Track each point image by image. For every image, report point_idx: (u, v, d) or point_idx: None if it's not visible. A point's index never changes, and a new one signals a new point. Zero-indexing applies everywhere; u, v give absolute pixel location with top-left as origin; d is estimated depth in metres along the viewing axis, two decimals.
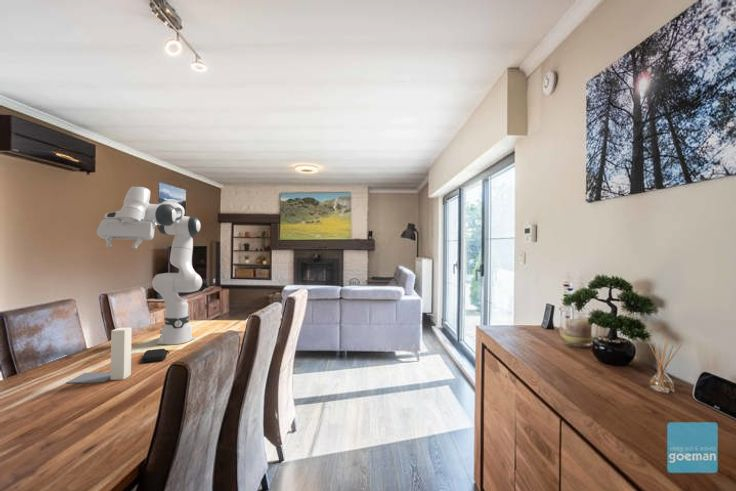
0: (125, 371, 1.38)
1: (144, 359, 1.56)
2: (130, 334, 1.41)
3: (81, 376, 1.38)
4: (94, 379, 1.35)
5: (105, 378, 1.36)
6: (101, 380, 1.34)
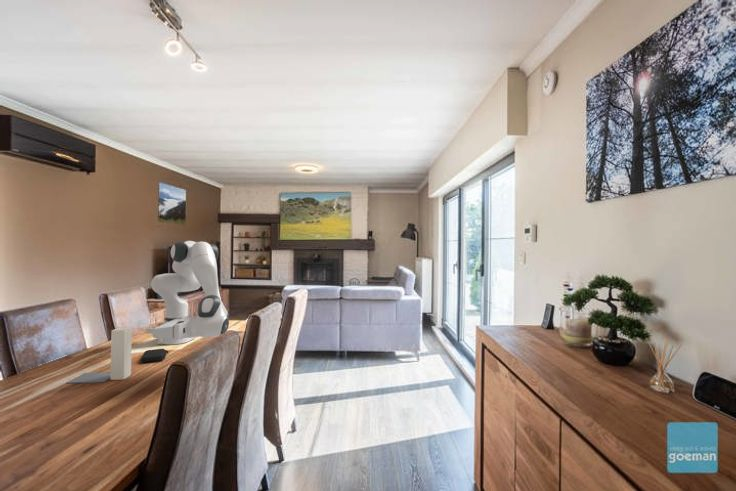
0: (125, 371, 1.38)
1: (143, 359, 1.55)
2: (130, 334, 1.41)
3: (81, 376, 1.38)
4: (94, 379, 1.35)
5: (105, 378, 1.36)
6: (101, 380, 1.34)
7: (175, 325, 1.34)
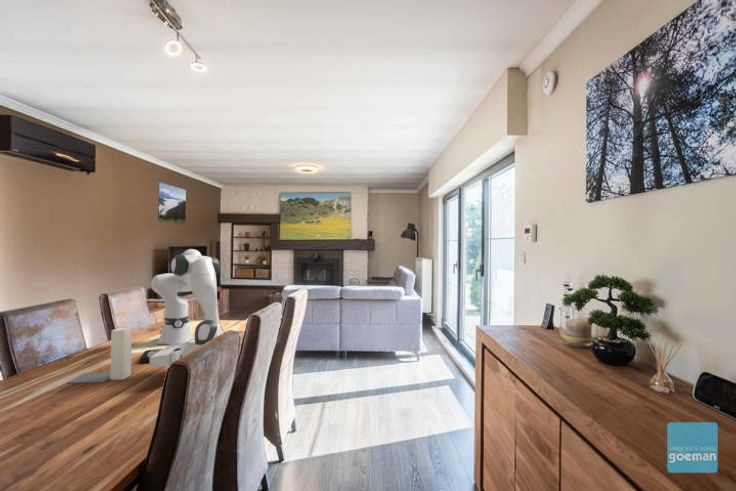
0: (125, 371, 1.38)
1: (142, 359, 1.55)
2: (130, 334, 1.41)
3: (81, 376, 1.38)
4: (94, 379, 1.35)
5: (105, 378, 1.36)
6: (101, 380, 1.34)
7: (172, 353, 1.34)
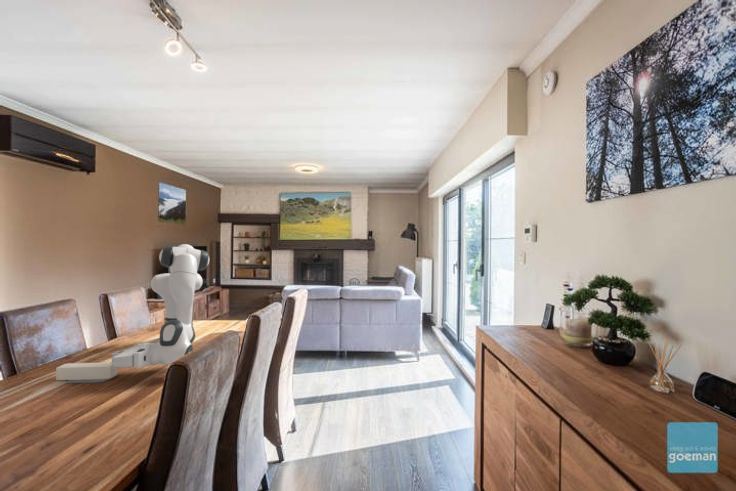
0: (105, 365, 1.37)
1: None
2: (71, 363, 1.38)
3: None
4: (94, 379, 1.35)
5: None
6: (101, 380, 1.34)
7: (135, 354, 1.32)
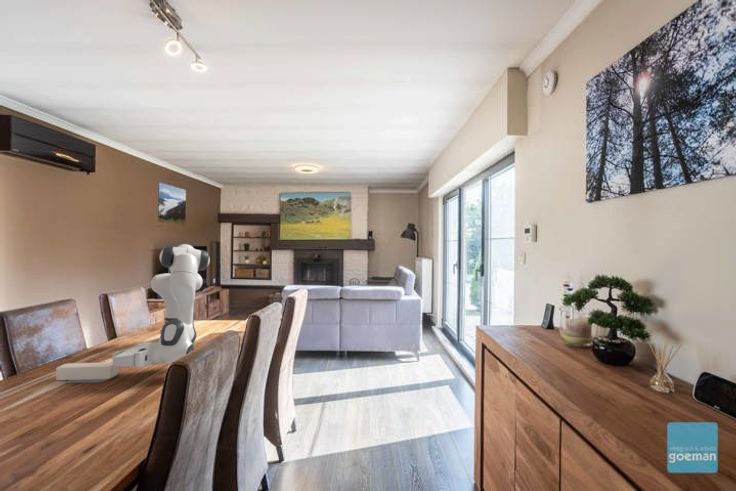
0: (105, 365, 1.37)
1: None
2: (71, 363, 1.38)
3: None
4: (94, 379, 1.35)
5: None
6: (101, 380, 1.34)
7: (136, 353, 1.32)
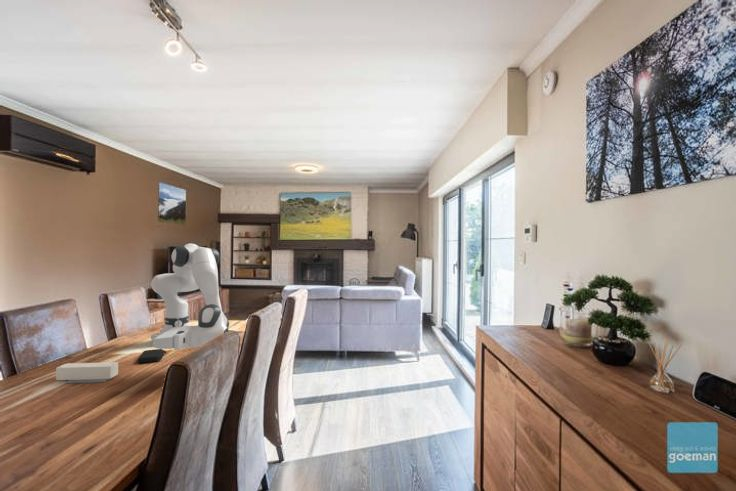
0: (105, 365, 1.37)
1: (140, 359, 1.55)
2: (71, 363, 1.38)
3: None
4: (94, 379, 1.35)
5: None
6: (101, 380, 1.34)
7: (175, 335, 1.34)
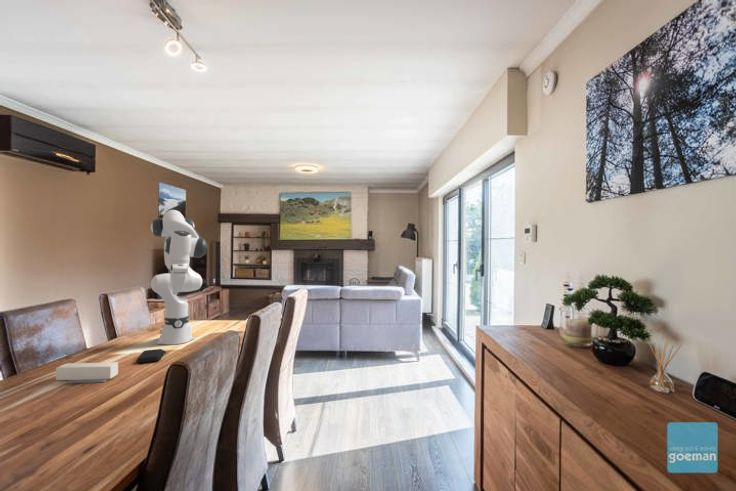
0: (105, 365, 1.37)
1: (139, 360, 1.55)
2: (71, 363, 1.38)
3: None
4: (94, 379, 1.35)
5: None
6: (101, 380, 1.34)
7: (173, 270, 1.50)
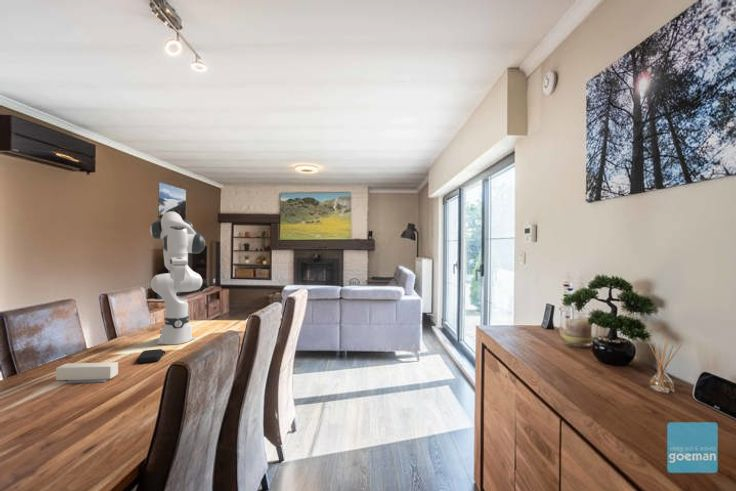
0: (105, 365, 1.37)
1: (138, 360, 1.55)
2: (71, 363, 1.38)
3: None
4: (94, 379, 1.35)
5: None
6: (101, 380, 1.34)
7: (173, 263, 1.51)
